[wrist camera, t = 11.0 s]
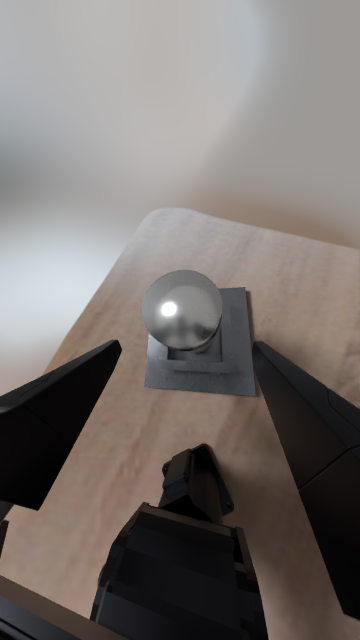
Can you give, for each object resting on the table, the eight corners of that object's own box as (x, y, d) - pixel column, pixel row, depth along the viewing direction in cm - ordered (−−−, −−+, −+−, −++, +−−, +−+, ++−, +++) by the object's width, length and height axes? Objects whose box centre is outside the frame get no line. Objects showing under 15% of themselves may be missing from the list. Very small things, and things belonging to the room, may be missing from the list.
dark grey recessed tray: (253, 394, 18) (263, 402, 15) (147, 385, 21) (135, 390, 18) (243, 290, 22) (249, 278, 18) (154, 295, 25) (146, 286, 21)
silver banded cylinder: (220, 343, 20) (244, 320, 7) (189, 360, 20) (160, 367, 7) (201, 313, 21) (195, 254, 9) (173, 330, 21) (127, 294, 9)
